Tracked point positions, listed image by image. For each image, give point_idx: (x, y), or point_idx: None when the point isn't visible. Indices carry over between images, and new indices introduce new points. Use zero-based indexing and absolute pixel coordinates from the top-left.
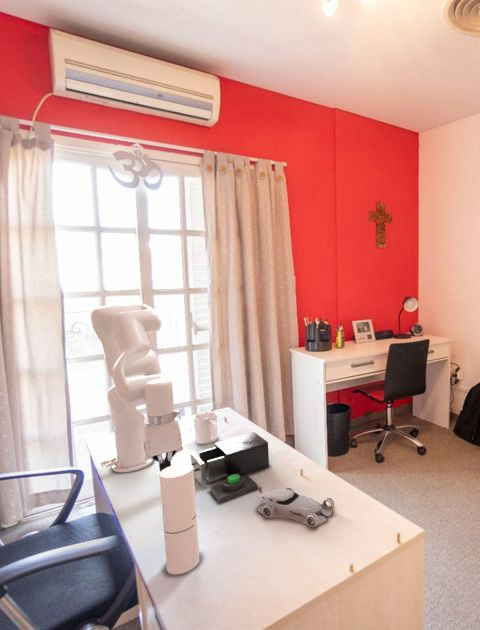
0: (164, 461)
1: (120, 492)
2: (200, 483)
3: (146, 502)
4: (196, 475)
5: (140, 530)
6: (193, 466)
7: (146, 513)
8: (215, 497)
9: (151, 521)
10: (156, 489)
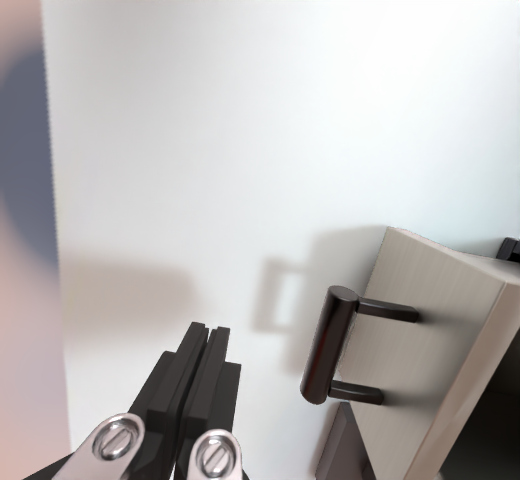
0: (166, 463)
1: (73, 84)
2: (345, 358)
3: (147, 286)
4: (370, 317)
5: (94, 423)
6: (405, 291)
7: (128, 357)
8: (326, 443)
9: (129, 408)
10: (211, 210)
